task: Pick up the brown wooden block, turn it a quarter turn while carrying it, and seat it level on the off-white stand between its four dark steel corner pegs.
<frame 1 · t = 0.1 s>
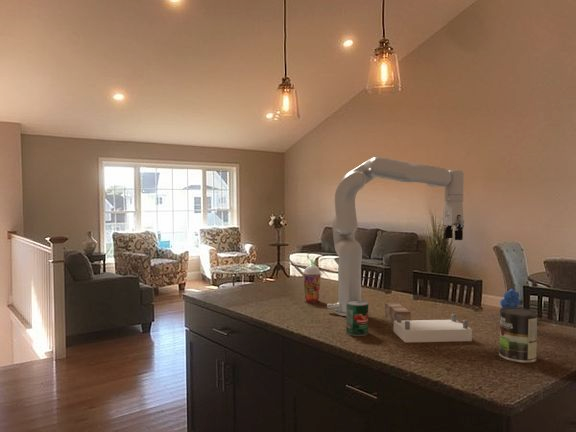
hand: (453, 239, 197), 31 cm above the worktop, tool pointing down, fingers open, 9 cm apart
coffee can: (517, 357, 140), on the worktop
brown wooden block: (397, 322, 181), on the worktop
smoothie: (312, 301, 219), on the worktop
grapes: (507, 318, 186), on the worktop
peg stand: (431, 336, 161), on the worktop
canned tomato: (357, 333, 166), on the worktop
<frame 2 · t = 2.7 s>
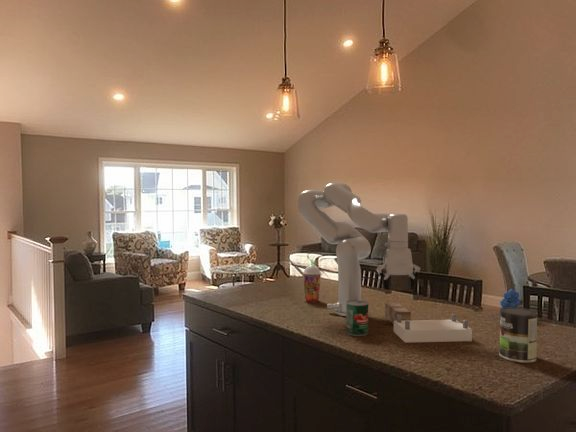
hand: (398, 289, 180), 13 cm above the worktop, tool pointing down, fingers open, 9 cm apart
nothing on the worktop moved.
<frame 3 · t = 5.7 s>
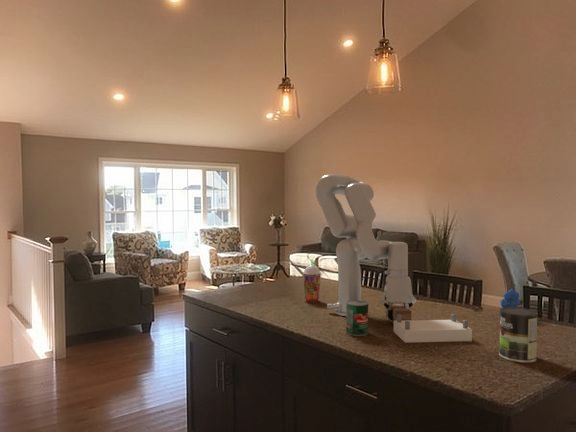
hand: (397, 319, 181), 1 cm above the worktop, tool pointing down, fingers closed on brown wooden block, 5 cm apart
brown wooden block: (397, 321, 181), on the worktop, touching gripper
everything else where it was.
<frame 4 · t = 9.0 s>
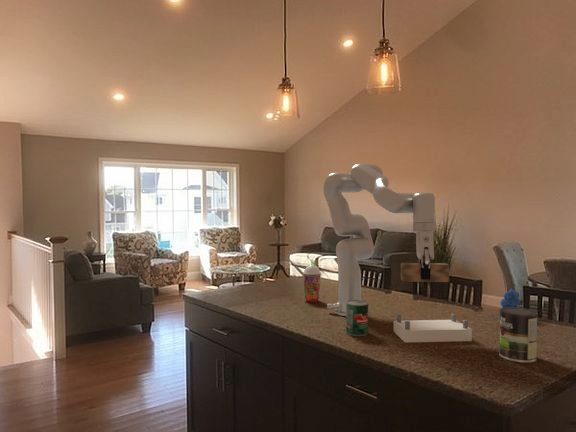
hand: (424, 277, 165), 20 cm above the worktop, tool pointing down, fingers closed on brown wooden block, 5 cm apart
brown wooden block: (424, 280, 165), point 19 cm above the worktop, touching gripper
everything else where it was.
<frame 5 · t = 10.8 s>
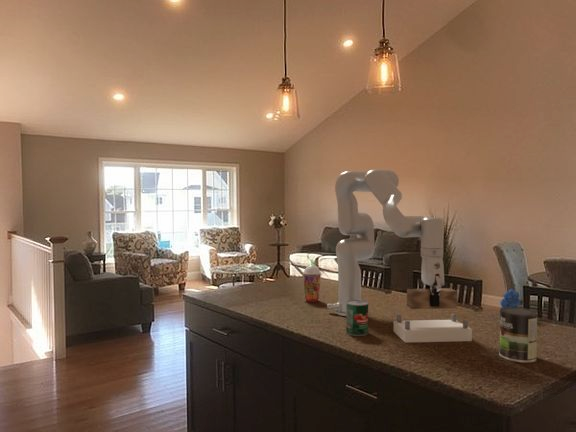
hand: (431, 304, 161), 11 cm above the worktop, tool pointing down, fingers closed on brown wooden block, 5 cm apart
brown wooden block: (431, 307, 161), point 10 cm above the worktop, touching gripper
everything else where it was.
when the fingers open (6 cm above the worktop, at t = 12.4 s): brown wooden block drops 1 cm, resting on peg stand.
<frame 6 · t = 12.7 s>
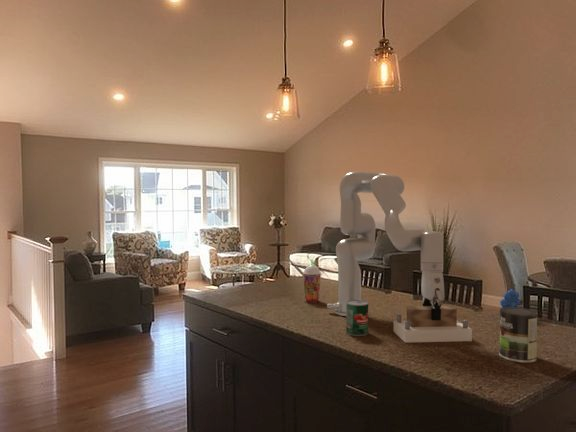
hand: (431, 316, 161), 7 cm above the worktop, tool pointing down, fingers open, 7 cm apart
brown wooden block: (431, 324, 161), point 4 cm above the worktop, touching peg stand
everything else where it was.
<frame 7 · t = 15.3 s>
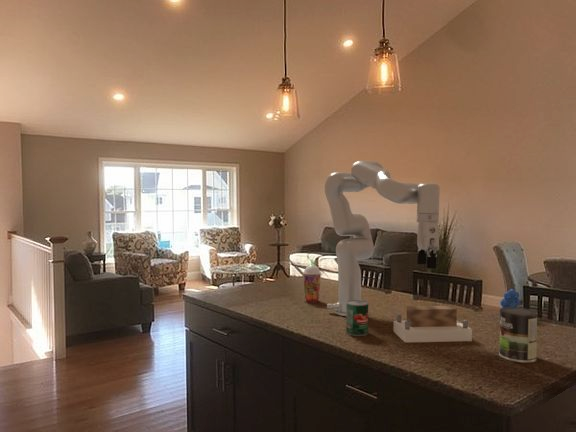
hand: (426, 266, 164), 24 cm above the worktop, tool pointing down, fingers open, 9 cm apart
nothing on the worktop moved.
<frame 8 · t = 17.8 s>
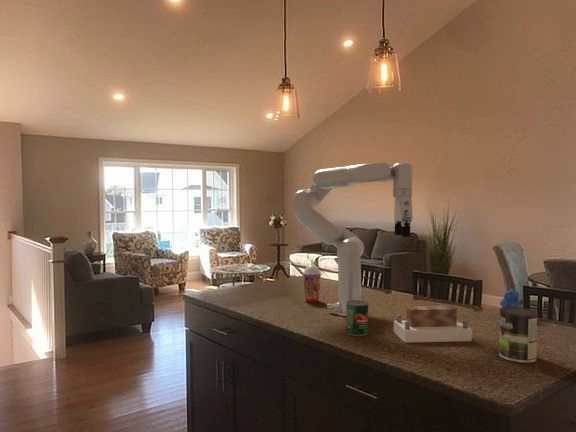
hand: (402, 235, 187), 33 cm above the worktop, tool pointing down, fingers open, 9 cm apart
nothing on the worktop moved.
at the end: brown wooden block 0.1 cm off-centre on the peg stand, point 4.0 cm above the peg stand's base; brown wooden block tilted 0°; brown wooden block touching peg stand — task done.
